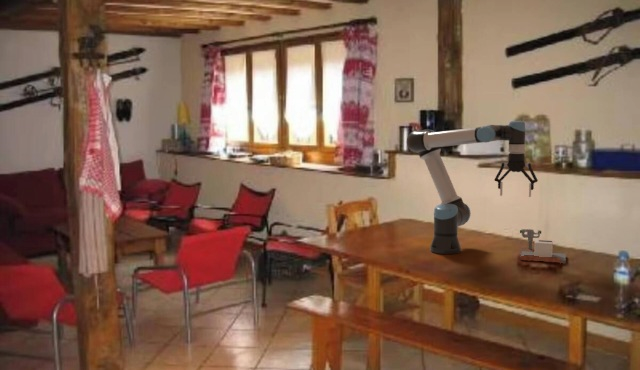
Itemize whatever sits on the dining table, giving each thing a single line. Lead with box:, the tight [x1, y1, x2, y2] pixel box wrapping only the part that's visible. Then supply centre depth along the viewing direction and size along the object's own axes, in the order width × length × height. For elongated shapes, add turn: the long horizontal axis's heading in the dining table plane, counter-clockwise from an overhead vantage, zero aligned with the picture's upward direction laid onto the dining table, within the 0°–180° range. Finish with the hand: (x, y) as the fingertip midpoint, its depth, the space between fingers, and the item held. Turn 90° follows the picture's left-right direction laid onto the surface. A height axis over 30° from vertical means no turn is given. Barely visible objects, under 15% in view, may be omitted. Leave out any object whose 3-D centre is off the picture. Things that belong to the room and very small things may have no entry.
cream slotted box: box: [533, 238, 554, 257], centre depth 306 cm, size 8×8×7 cm
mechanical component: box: [519, 228, 542, 250], centre depth 326 cm, size 3×10×10 cm, turn 78°
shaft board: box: [520, 250, 567, 265], centre depth 306 cm, size 20×14×6 cm
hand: (515, 196), depth 315 cm, fingers open, 13 cm apart
